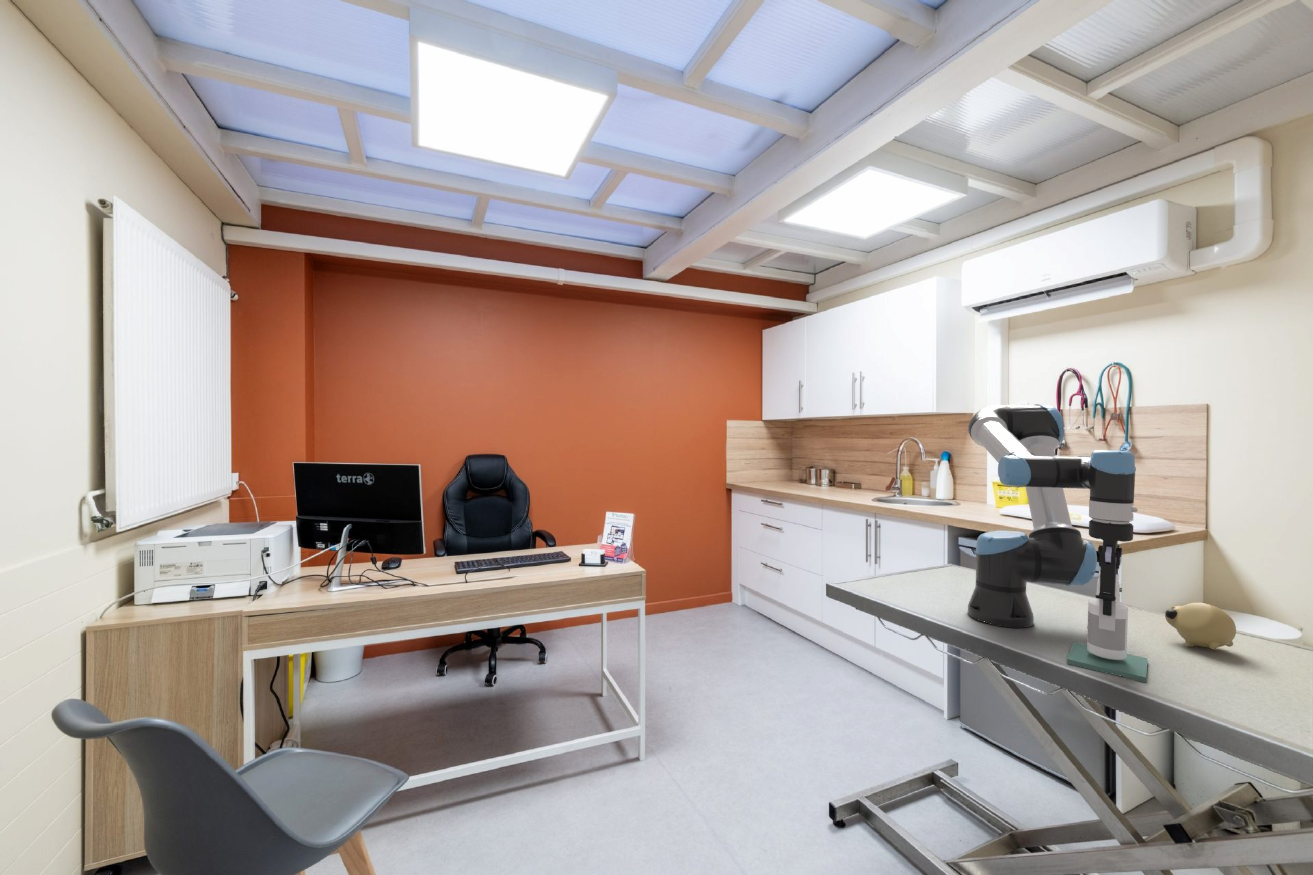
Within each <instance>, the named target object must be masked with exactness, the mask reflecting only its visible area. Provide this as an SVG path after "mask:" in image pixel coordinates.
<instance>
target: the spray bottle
mask: <svg viewBox="0 0 1313 875" xmlns="http://www.w3.org/2000/svg"><path fill="white" fill-rule="evenodd" d="M1119 577H1120V576H1119V573H1118V574H1116V586H1115V597H1116V617H1115V631H1110V630H1105V629H1100V628H1099V599H1098V598H1096V597H1094V598H1091V599H1089V600H1088V602H1087V605H1088V606H1087V631H1086V632H1087V635H1086V636H1087V637H1086V638H1087V640H1086V641H1087V642H1086V645H1087V650H1088V651H1089V652H1090V653H1092V654H1094V655H1096V656H1099V657H1102V658H1106V659H1112V660H1124V659H1126V658H1127V654H1128V627H1129V626H1128V622H1129V620H1128V618H1129V608H1128V606H1127V605H1126V604H1124V603H1123V602H1121V594H1120V593H1121V592H1120V588H1121V584H1120V582H1119ZM1096 583H1097V584H1096V593H1095V596H1096V595H1099V593H1100V570H1099V571H1098V580H1097V581H1096ZM1103 593H1105V592H1103ZM1109 594H1110V593H1109Z"/></svg>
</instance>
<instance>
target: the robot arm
mask: <svg viewBox="0 0 1313 875" xmlns="http://www.w3.org/2000/svg"><path fill="white" fill-rule="evenodd" d="M967 429H968V430H967V431H968V434H969V437H970V439H971V440H973V442H974V443H975V444H977V445H978V446H980V447H983V448H985V449H986V451H987V452H988V454H990V455H991V457H992V458H993V459H994V460H995V461H996V462H997V463H998V465H997V476H998V478H999V482H1000V483H1001V484H1002V485H1003V486H1007V487H1015V488H1025V491H1026V496H1027V501H1028V502H1027V503H1028V506H1029V512H1030V517H1031V522H1032V527H1033V529H1032V530H1031V531H1030V532H1029V534H1027V533H1026V532H1023V531H1017V530H993V531H988V532H984V533H981V534H980V535H979V536H978V537H977V539H976V546H975V547H976V549H975V555H976V556H975V587H974V589H973V591H972V595H971V597H970V599H969V601H968V603H967V615H968V614H969V615H970V618H972V617H974V618H975V619H974V618H973V619H974V620H976V619H979V620H980V621H979V620H978V621H979V622H981V621H985V622H987V623H986V624H988V623H991V624H990V625H992V624H993V625H994V626H997V627H1005V628H1011V629H1012V628H1015V629H1020V628H1021V629H1022V628H1023V629H1024V628H1030V627H1032V626H1033V625H1034V617H1035V616H1034V613H1033V610H1032V607H1031V604H1030V601H1029V598H1028V595H1027V583H1039V584H1050V585H1051V584H1052V585H1063V586H1067V587H1068V586H1085V585H1088V584H1089V583H1090V582H1091V581H1092V579H1093V578H1094V576H1095V574H1096V570H1097V566H1099V569H1100V570H1099V571H1100V593H1099V595H1096V594H1095V598H1098V599H1099V628H1100V629H1105V630H1110V631H1115V617H1116V597H1115V586H1116V574H1119V570H1120V566H1121V561H1122V560H1121V558H1122V555H1123V547H1120V544H1119V542H1121V543H1124V542H1132V541H1133V540H1134V525H1133V523H1130V522H1133V521H1134V513H1137V512H1138V511H1139V510H1138V508H1137V507H1135V506H1134V505H1135V504H1134V502H1135V486H1136V485H1135V483H1136V482H1135V481H1136V472H1137V467H1136V459H1135V454H1134V453H1133V452H1131V451H1130V450H1110V449H1109V450H1106V449H1103V450H1102V449H1101V450H1100V449H1099V450H1098V449H1097V450H1094V451H1092V452H1091V454H1090V455H1089V456H1088V455H1086V456H1085V455H1083V456H1082V455H1078V456H1056V452H1055V450H1057V448H1058V447H1059V445H1060V443H1061V442H1062V441H1063V439H1064V437H1065V422H1064V419H1063V416H1062V414H1061V412H1060V411H1059V410H1058V409H1057V408H1056V407H1054V406H1052V405H1045V404H1043V405H1042V404H1037V403H1036V404H1031V405H1030V404H1027V405H1026V404H1019V405H1018V404H1017V405H1016V404H1005V405H1003V404H996V405H990V406H987V407H984V408H982V409H979V411H977V412H976V413H975V414H974V415H973V416H972V418H971V419H970V420H969V423H968V427H967ZM1064 489H1083V490H1089V501H1088V504H1089V505H1088V517H1089V518H1091V519H1090V520H1089V521H1088V536H1089V537H1091V538H1093V539H1096V540H1102V544H1099V545H1098V547H1097V550H1096V547H1095V545H1094V544H1093V543H1092V541H1088V540H1086V539H1084V540H1083V538H1082V533H1081V531H1080V530H1079V529H1078V528H1076V527H1074V526H1072V521H1071V517H1070V516H1071V515H1070V513H1069V508H1068V503H1067V500H1066V496H1065V492H1064ZM1133 506H1134V507H1133ZM1097 554H1098V555H1097ZM1097 564H1098V565H1097ZM1103 592H1105V593H1103ZM1122 592H1123V588H1122V587H1120V593H1122ZM1109 593H1110V594H1109ZM969 615H968V616H969ZM985 622H984V623H985ZM993 625H992V626H993Z"/></svg>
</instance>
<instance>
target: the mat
mask: <svg viewBox="0 0 1313 875" xmlns="http://www.w3.org/2000/svg"><path fill="white" fill-rule="evenodd" d="M1067 663H1068V664H1067ZM1066 664H1067V665H1072V666H1075V665H1076V667H1081V668H1084V667H1085V669H1088V670H1092V669H1093V671H1097V672H1101V671H1102V673H1105V672H1107V673H1106V674H1109V673H1113V674H1115V675H1114V676H1117V675H1121V676H1123V677H1122V678H1126V679H1130V678H1132V679H1131V680H1134V681H1138V680H1139V681H1138V682H1142V683H1147V675H1148V670H1147V669H1148V658H1147V657H1145V656H1144V657H1143V656H1140V655H1135V654H1129V653H1127V658H1126V659H1124V660H1112V659H1106V658H1102V657H1099V656H1096V655H1094V654H1092V653H1090V652H1089V651H1088V650H1087V644H1085V643H1080V642H1073V643H1072V645H1071V648H1070V651H1069V654H1068V656H1067V658H1066ZM1113 674H1112V675H1113ZM1121 676H1120V677H1121Z"/></svg>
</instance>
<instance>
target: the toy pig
mask: <svg viewBox="0 0 1313 875" xmlns="http://www.w3.org/2000/svg"><path fill="white" fill-rule="evenodd" d="M1164 614H1165V616H1164V618H1165V620H1166V622H1167V623H1168V624H1169V625H1171V627H1173V628H1174V629H1175V630H1176V632H1177V633H1178V635H1179V636H1180V637H1181V638H1182V639H1183V640H1184V641H1185V642H1184V643H1185V646H1186V647H1189V648H1191V647H1194V646H1197V647H1202V648H1208V649H1209V648H1210V649H1211V650H1217V649H1218V648H1221V647H1224V646H1226V647H1229V648H1230V647H1233V646H1234V642H1233V641H1234V639H1235V638H1236V635H1237V626H1236V624H1235V621H1234V620H1233V618H1232V617H1231V616H1230V614H1228V613H1227V612H1225V611H1224V610H1223V609H1221V608H1219V607H1217V606H1214V605H1212V604H1208V603H1204V602H1190V603H1187V604H1184V605H1172V606H1171V607H1170V608H1169V609H1167V610H1166V611H1165V613H1164Z"/></svg>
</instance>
